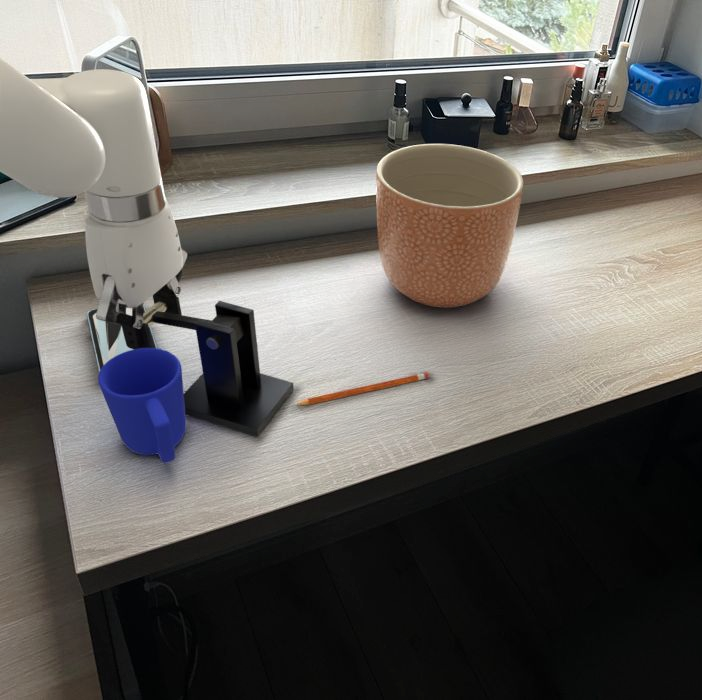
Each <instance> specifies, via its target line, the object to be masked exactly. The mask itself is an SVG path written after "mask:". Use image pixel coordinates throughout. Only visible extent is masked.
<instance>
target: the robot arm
mask: <svg viewBox="0 0 702 700" xmlns="http://www.w3.org/2000/svg"><path fill="white" fill-rule="evenodd" d="M152 122H153V121H152V117H151V110H150V104H149V99H148V95H147V91H146V89H145V87H144V84H143V83H142V81H141V80H139V78H137V77H136V76H134V75H133V74H131V73H129V72H126V71H122V70H117V69H105V68H103V69H102V68H100V69H96V68H95V69H89V70H83V71H79V72H76V73H73V74H71V75H69V76H66V77H54V78H51V77H50V78H49V77H48V78H29V77H27V76H26V75H25V74H23V73H22V72H21V71H19V69H16V68H15V67H14V66H13V65H11V64H10V63H9V62H7V61H5V60H4V59H3V58H1V57H0V173H1V174H3V175H5V176H7V177H8V178H10V179H12V180H14V181H16V182H17V183H19V184H21V185H22V186H24V187H26V188H27V189H29V190H31V191H33V192H35V193H37V194H40V195H43V196H46V197H51V198H59V199H60V198H61V199H63V198H72V197H76V196H79V195H81V194H84V199H85V202H86V203H85V204H86V206H87V210H88V214H89V216H88V217H87V218H86V219H85V223H84V224H85V225H84V228H85V229H84V230H85V231H84V233H85V234H84V236H85V249H86V250H85V251H86V257H87V263H88V264H87V265H88V270H89V275H90V279H91V283H92V289H93V292H94V294H95V297H96V299H97V300H99V302H98V306H97V308H98V309H97V313H96V318H97V319H98V320H102V321H105V322H110V323H119V324H121V326H122V330H123V334H124V338H125V342H126V345H127V347H129V348H131V349H140V348H153V344H152V340H151V335H150V331H149V326H148V324H146V323H143V303H145V302H146V301H148V300H149V299H150V298H152V300H153V305H154V304H155V303H157V302H158V301H159V300H165V301H166V302H168V304H169V305H170V309H169V310H168V311H167V312H166V313H172V314H177V315H183V314H182V309H181V303H180V297H179V295H180V294H181V291H182V288H181V285H180V282H181V278H182V276H183V268H184V265H185V263H186V260H187V258H188V252H187V251H185V249H183V248H182V245H181V240H180V236H179V232H178V228H177V225H176V221H175V218H174V215H173V212H172V209H171V207H170V204H169V201H168V200H167V197H166V195H165V189H164V183H163V179H162V172H161V167H160V161H159V156H158V155H159V154H158V150H157V145H156V139H155V134H154V128H153V123H152ZM126 306H127V307H128V308H132V316H131V315H128V314H126Z"/></svg>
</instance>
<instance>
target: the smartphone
mask: <svg viewBox="0 0 702 700" xmlns="http://www.w3.org/2000/svg"><path fill="white" fill-rule="evenodd" d="M97 309H98V307H97V308H92V309H90V310H88V311H87V312H86V319H87V324H88V329H89V335H90V339H91V342H92V346H93V352H94V356H95V361H96V366H97V371H98V373H99V372H100V370H101V368H102V367H103V366H104V365H105V364H106V363H107V362H108V361H109V360H110V359H112V358H113V357H115V356H117V355H119V354H121V353H124V352H126V351H130V350H134V349H131V348H129V347H127V345H126V342H125V338H124V334H123V330H122V326H121V324H119V323H110V322H105V321H102V320H98V319H97V318H96V313H97ZM146 311H147V308H146V304H145V302H143V314H144V313H145V312H146ZM126 314H128V315H131V316H132V308H128V307H127V306H126ZM149 331H150V335H151V340H152V344H153V348H156V349H159V348H158V343H157V341H156V338H155V335H154V332H153V328H152V325H151V326H150V327H149Z"/></svg>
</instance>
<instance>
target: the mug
mask: <svg viewBox="0 0 702 700" xmlns="http://www.w3.org/2000/svg"><path fill="white" fill-rule="evenodd" d="M97 383H98V386H99V388H100V390H101V393H102V395H103V398H104V401H105V403H106V406H107V408H108V410H109V412H110V415H111V418H112V420H113V423H114V426H115V427H116V430H117V432H118V435H119V437H120V439H121V441H122V443H123V444H124V446H125V447H127V449H129V450H130V451H131V452H133V453H136V454H139V455H143V456H144V455H146V456H151V455H159V456H158V457H159V459H160V461H161V463H163V464H168V463H171V462H173V461H175V459H176V451H175V447H176V446H177V445H179V443H180V442H181V441H182V440H183V438H184V436H185V433H186V429H187V417H186V416H187V415H185V404H184V393H185V391H184V380H183V370H182V364H181V361H180V360H179V358H178V357H177V356H176V355H175V354H173V353H172V352H171V351H168V350H165V349H161V348H158V349H156V348H140V349H134V350H130V351H126V352H124V353H121V354H119V355H117V356H115V357H113V358H112V359H110V360H109V361H108V362H107V363H106V364H105V365H104V366H103V367H102V368H101V370H100V372H99V371H98V376H97Z"/></svg>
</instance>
